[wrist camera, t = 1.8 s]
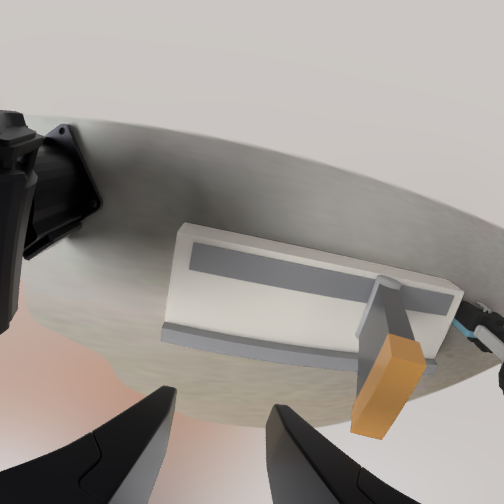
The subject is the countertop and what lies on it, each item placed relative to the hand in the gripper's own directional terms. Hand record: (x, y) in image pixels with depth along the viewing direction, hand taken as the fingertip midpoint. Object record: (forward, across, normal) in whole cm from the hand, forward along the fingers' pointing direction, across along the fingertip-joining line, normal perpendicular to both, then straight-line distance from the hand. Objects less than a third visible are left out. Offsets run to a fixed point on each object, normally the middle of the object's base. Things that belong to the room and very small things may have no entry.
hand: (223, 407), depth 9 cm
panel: (+13, +6, -2) cm, 15 cm away
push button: (+13, +22, -1) cm, 26 cm away
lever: (+10, +9, 0) cm, 13 cm away
